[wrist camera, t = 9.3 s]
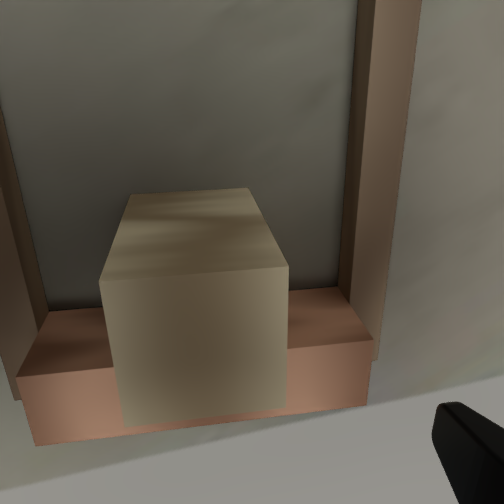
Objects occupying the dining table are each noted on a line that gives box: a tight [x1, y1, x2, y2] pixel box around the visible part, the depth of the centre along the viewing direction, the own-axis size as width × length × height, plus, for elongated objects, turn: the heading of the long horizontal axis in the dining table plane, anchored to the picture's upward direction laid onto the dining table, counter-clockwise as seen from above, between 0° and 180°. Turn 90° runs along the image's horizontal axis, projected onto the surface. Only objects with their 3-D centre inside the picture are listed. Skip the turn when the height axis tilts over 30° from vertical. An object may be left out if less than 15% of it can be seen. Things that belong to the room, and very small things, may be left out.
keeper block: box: [99, 188, 289, 427], centre depth 14 cm, size 4×4×7 cm
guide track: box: [0, 0, 422, 446], centre depth 14 cm, size 15×18×4 cm
